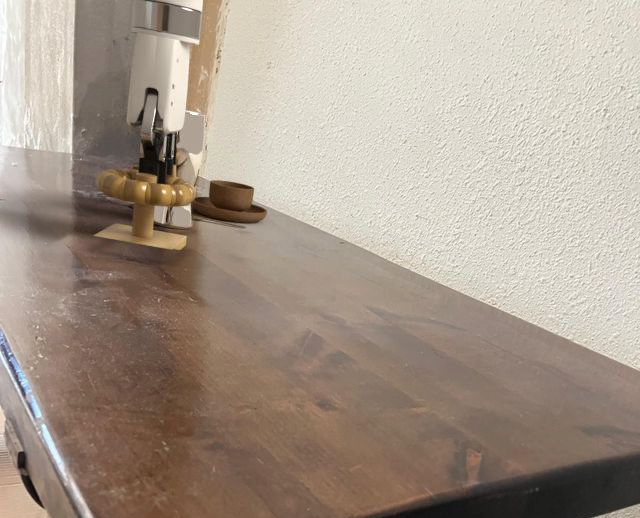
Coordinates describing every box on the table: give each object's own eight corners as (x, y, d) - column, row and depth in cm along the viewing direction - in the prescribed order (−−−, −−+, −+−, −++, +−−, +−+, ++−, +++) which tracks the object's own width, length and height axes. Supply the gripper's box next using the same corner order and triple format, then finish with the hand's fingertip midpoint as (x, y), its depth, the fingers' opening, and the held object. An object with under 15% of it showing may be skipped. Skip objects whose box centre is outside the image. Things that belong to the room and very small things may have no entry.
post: (92, 245, 85) (95, 171, 82) (114, 232, 93) (118, 164, 90) (170, 259, 85) (177, 186, 82) (185, 245, 94) (192, 178, 90)
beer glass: (135, 217, 104) (143, 102, 98) (178, 218, 109) (188, 109, 103) (162, 229, 100) (172, 110, 94) (205, 230, 105) (217, 116, 99)
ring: (83, 195, 82) (83, 172, 81) (112, 183, 92) (113, 163, 91) (183, 213, 82) (185, 191, 81) (201, 199, 93) (203, 180, 92)
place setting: (260, 231, 111) (265, 191, 108) (126, 207, 110) (128, 166, 107) (270, 214, 127) (275, 178, 124) (153, 193, 126) (156, 157, 123)
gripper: (150, 25, 91) (140, 180, 98) (113, 11, 76) (104, 195, 84) (211, 36, 91) (196, 190, 99) (185, 25, 76) (170, 207, 84)
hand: (154, 191), depth 91 cm, fingers closed on ring, 2 cm apart
